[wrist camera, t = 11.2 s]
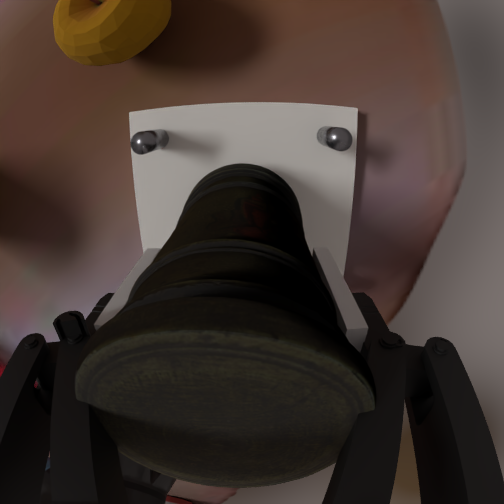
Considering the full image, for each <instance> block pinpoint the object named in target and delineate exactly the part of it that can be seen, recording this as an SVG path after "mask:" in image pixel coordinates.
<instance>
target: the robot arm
mask: <svg viewBox="0 0 504 504" xmlns="http://www.w3.org/2000/svg"><path fill="white" fill-rule="evenodd" d="M160 250H161V248H147V250H146V251H145V252H144V254H143V255H142V256H141V258H140V259H139V260H138V262H137V263H136V264H135V266H134V267H133V269H132V270H131V271H130V273H129V274H128V275H127V277H126V278H125V280H124V281H123V282H122V284H121V285H120V287H119V288H118V290H117V291H116V292H115V293H108V294H106V295H105V296H104V297H102V298H101V299H100V300H99V301H98V303H97V304H96V307H94V308H93V310H92V312H91V313H90V314H89V315H88V317H87V318H86V320H85V319H84V316H83V314H82V313H81V312H78V311H68V312H65V313H63V314H61V315H59V316H58V317H57V318H56V319H55V320H54V322H53V325H54V327H55V330H56V332H57V334H58V337H59V339H60V341H59V342H49V343H47V342H46V340H45V338H44V336H43V335H42V334H38V333H34V334H30V335H27V336H26V337H25V338H23V339H22V340H21V342H20V343H19V345H18V346H17V348H16V350H15V352H14V353H13V355H12V357H11V359H10V360H9V362H8V364H7V366H6V368H5V370H4V372H3V373H2V375H1V377H0V504H165V502H166V497H167V494H168V492H169V491H170V489H171V487H172V486H173V484H174V482H175V481H176V478H173V477H170V476H167V475H164V474H161V473H159V472H156V471H154V470H151V469H149V468H147V467H145V466H143V465H141V464H139V463H137V462H135V461H133V460H131V459H130V458H128V457H126V456H125V455H123V454H122V453H120V452H119V451H118V448H117V445H116V444H115V443H114V441H113V440H112V438H111V437H110V436H109V434H108V433H107V432H106V430H105V429H104V427H103V426H102V424H101V423H100V421H99V420H98V418H97V416H96V415H95V413H94V412H93V410H92V408H91V407H90V405H89V404H88V403H86V402H82V401H79V400H77V399H76V394H75V373H76V368H77V363H78V359H79V357H80V354H81V352H82V350H83V348H84V346H85V344H86V343H87V341H88V340H89V339H90V337H91V336H92V335H93V334H94V333H95V332H96V331H97V330H98V329H99V328H100V327H101V326H102V325H103V324H105V323H106V322H107V321H109V320H110V319H112V318H113V317H114V316H115V315H116V314H117V313H118V312H119V311H120V310H121V309H122V308H123V307H124V306H125V305H126V304H127V301H128V297H129V294H130V292H131V289H132V287H133V285H134V283H135V282H136V280H137V279H138V277H139V276H140V275H141V273H142V272H143V271H144V270H145V269H146V268H147V267H148V266H149V265H150V264H151V263H152V262H153V261H154V259H155V258H156V256H157V254H158V253H159V251H160ZM312 257H313V260H314V262H315V264H316V267H317V270H318V272H319V275H320V277H321V280H322V282H323V283H324V285H325V286H326V288H327V289H328V291H329V293H330V295H331V297H332V300H333V302H334V305H335V309H336V314H337V325H338V326H339V327H340V329H341V330H342V331H343V333H344V334H345V336H346V337H347V339H348V340H349V342H350V343H351V344H352V345H353V346H354V347H355V348H356V349H357V350H358V351H359V353H360V354H361V355H362V356H363V358H364V359H365V361H366V362H367V364H368V366H369V368H370V370H371V372H372V375H373V378H374V382H375V387H376V396H377V399H376V407H375V409H374V410H372V411H368V412H363V413H359V414H358V416H357V418H356V420H355V422H354V425H353V427H352V429H351V431H350V433H349V435H348V437H347V439H346V441H345V443H344V445H343V447H342V449H341V451H340V453H339V455H338V458H337V462H336V465H335V468H334V471H333V474H332V477H331V480H330V483H329V486H328V489H327V492H326V494H325V497H324V500H323V502H322V504H390V499H391V494H392V489H393V485H394V480H395V474H396V468H397V462H398V456H399V449H400V441H401V432H402V423H403V411H404V399H405V403H406V408H407V413H408V417H409V423H410V428H411V434H412V438H413V445H414V451H415V457H416V464H417V471H418V479H419V487H420V497H421V504H504V481H503V476H502V473H501V469H500V465H499V461H498V457H497V454H496V451H495V447H494V444H493V441H492V437H491V434H490V431H489V429H488V426H487V423H486V420H485V417H484V414H483V411H482V409H481V406H480V404H479V401H478V398H477V396H476V394H475V391H474V388H473V386H472V384H471V381H470V379H469V377H468V374H467V372H466V370H465V368H464V365H463V363H462V361H461V359H460V357H459V355H458V352H457V350H456V348H455V347H454V345H453V344H452V343H451V342H450V341H448V340H446V339H444V338H441V337H433V338H430V339H428V340H427V342H426V344H425V346H424V347H421V346H413V345H407V344H405V341H404V339H403V338H402V337H401V336H399V335H398V334H396V333H393V332H390V331H389V329H388V327H387V325H386V323H385V322H384V320H383V318H382V316H381V314H380V313H379V311H378V309H377V307H376V306H375V304H374V302H373V300H372V299H371V298H370V297H369V296H367V295H366V294H365V293H351V291H350V289H349V287H348V285H347V283H346V281H345V280H344V278H343V276H342V274H341V272H340V270H339V268H338V266H337V264H336V262H335V261H334V259H333V257H332V255H331V253H330V251H329V249H328V247H313V255H312ZM35 381H37V382H38V386H37V388H35V387H34V383H35ZM49 452H50V458H49V457H48V456H49Z"/></svg>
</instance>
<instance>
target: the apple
mask: <svg viewBox="0 0 504 504" xmlns="http://www.w3.org/2000/svg"><path fill="white" fill-rule="evenodd" d="M170 17H171V0H59V1H58V3H57V5H56V8H55V12H54V16H53V26H54V33H55V40H56V43H57V44H58V45H59V47H60V48H61V50H62V51H63V52H64V53H65V54H66V55H67V56H68V58H70V59H72V60H74V61H77V62H79V63H81V64H84V65H94V66H102V65H109V64H116V63H121V62H123V61H126V60H128V59H130V58H132V57H133V56H135V55H136V54H138V53H139V52H141V51H142V50H144V49H145V48H146V47H147V46H148V45H149V44H150V43H152V42H153V41H154V40H155V39H156V38H157V37H158V36H159V35H160V34H161V33H162V31H163V30H164V29H165V27H166V26H167V24H168V21H169V19H170Z"/></svg>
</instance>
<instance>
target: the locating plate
mask: <svg viewBox="0 0 504 504" xmlns="http://www.w3.org/2000/svg"><path fill="white" fill-rule="evenodd" d="M357 115H358V108H351V107H342V106H331V105H319V104H303V103H275V102H243V103H215V104H199V105H186V106H176V107H166V108H158V109H150V110H143V111H136V112H129V120H130V139H131V153H132V166H133V176H134V186H135V195H136V204H137V212H138V219H139V226H140V233H141V240H142V246H143V252H145V251H146V250H147V248H162V247H163V246H164V244H165V243H166V241H167V240H168V239H169V237H170V236H171V234H172V233H173V231H174V230H175V228H176V225H177V222H178V220H179V217H180V215H181V214H182V211H183V208H184V205H185V203H186V201H187V199H188V197H189V195H190V193H191V191H192V190H193V188H194V187H195V186H196V184H197V183H198V182H199V181H200V180H201V179H202V178H203V177H204V176H206V175H207V174H209V173H210V172H212V171H214V170H216V169H218V168H220V167H223V166H226V165H230V164H238V163H247V164H254V165H258V166H261V167H264V168H267V169H269V170H271V171H273V172H274V173H276V174H277V175H279V176H280V177H281V178H282V179H284V180H285V181H286V182H287V184H288V185H289V186H290V187H291V189H292V190H293V192H294V193H295V195H296V197H297V200H298V202H299V206H300V210H301V214H302V221H303V229H304V233H305V239H306V242H307V245H308V247H309V250H310V252H311V255H313V247H328V249H329V251H330V253H331V255H332V257H333V259H334V261H335V262H336V264H337V266H338V268H339V270H340V272H341V274H342V276H343V277H344V270H345V263H346V256H347V248H348V240H349V232H350V223H351V213H352V203H353V192H354V179H355V164H356V145H357Z"/></svg>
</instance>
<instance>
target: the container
mask: <svg viewBox="0 0 504 504" xmlns="http://www.w3.org/2000/svg"><path fill="white" fill-rule="evenodd" d="M75 394H76V399H77V400H79V401H82V402H86V403H88V404H89V405H90V407H91V408H92V410H93V412H94V413H95V415H96V416H97V418H98V420H99V421H100V423H101V424H102V426H103V427H104V429H105V430H106V432H107V433H108V434H109V436H110V437H111V438H112V440H113V441H114V443H115V444H116V445H117V448H118V451H119V452H120V453H122V454H123V455H125V456H126V457H128V458H130V459H131V460H133V461H135V462H137V463H139V464H141V465H143V466H145V467H147V468H149V469H151V470H154V471H156V472H159V473H161V474H164V475H167V476H170V477H173V478H176V479H179V480H183V481H187V482H191V483H196V484H202V485H208V486H216V487H229V488H246V487H259V486H269V485H276V484H281V483H285V482H289V481H293V480H297V479H300V478H303V477H306V476H309V475H312V474H314V473H316V472H318V471H320V470H322V469H324V468H326V467H328V466H330V465H332V464H334V463H336V462H337V458H338V455H339V453H340V451H341V449H342V447H343V445H344V443H345V441H346V439H347V437H348V435H349V433H350V431H351V429H352V427H353V425H354V422H355V420H356V418H357V416H358V414H359V413H363V412H368V411H372V410H374V409H375V407H376V399H377V396H376V387H375V382H374V378H373V375H372V372H371V370H370V368H369V366H368V364H367V362H366V361H365V359H364V358H363V356H362V355H361V354H360V353H359V351H358V350H357V349H356V348H355V347H354V346H353V345H352V344H351V343H350V342H349V340H348V339H347V337H346V336H345V334H344V333H343V331H342V330H341V329H340V327H339V326H338V325H337V314H336V309H335V305H334V302H333V300H332V297H331V295H330V293H329V291H328V289H327V288H326V286H325V285H324V283H323V282H322V280H321V277H320V275H319V272H318V270H317V267H316V264H315V262H314V260H313V257H312V255H311V252H310V250H309V247H308V245H307V242H306V239H305V233H304V229H303V221H302V214H301V210H300V206H299V202H298V200H297V197H296V195H295V193H294V192H293V190H292V189H291V187H290V186H289V185H288V184H287V182H286V181H285V180H284V179H282V178H281V177H280V176H279V175H277V174H276V173H274V172H273V171H271V170H269V169H267V168H264V167H261V166H258V165H254V164H247V163H238V164H230V165H226V166H223V167H220V168H218V169H216V170H214V171H212V172H210V173H209V174H207V175H206V176H204V177H203V178H202V179H201V180H200V181H199V182H198V183H197V184H196V186H195V187H194V188H193V190H192V191H191V193H190V195H189V197H188V199H187V201H186V203H185V205H184V208H183V211H182V214H181V215H180V217H179V220H178V222H177V225H176V228H175V230H174V231H173V233H172V234H171V236H170V237H169V239H168V240H167V241H166V243H165V244H164V246H163V247H162V248H161V250H160V251H159V253H158V254H157V256H156V258H155V259H154V261H153V262H152V263H151V264H150V265H149V266H148V267H147V268H146V269H145V270H144V271H143V272H142V273H141V275H140V276H139V277H138V279H137V280H136V282H135V283H134V285H133V287H132V289H131V292H130V294H129V297H128V301H127V304H126V305H125V306H124V307H123V308H122V309H121V310H120V311H119V312H118V313H117V314H116V315H115V316H114V317H113V318H112V319H110V320H109V321H107V322H106V323H105V324H103V325H102V326H101V327H100V328H99V329H98V330H97V331H96V332H95V333H94V334H93V335H92V336H91V337H90V339H89V340H88V341H87V343H86V344H85V346H84V348H83V350H82V352H81V354H80V357H79V359H78V363H77V368H76V373H75Z"/></svg>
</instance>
